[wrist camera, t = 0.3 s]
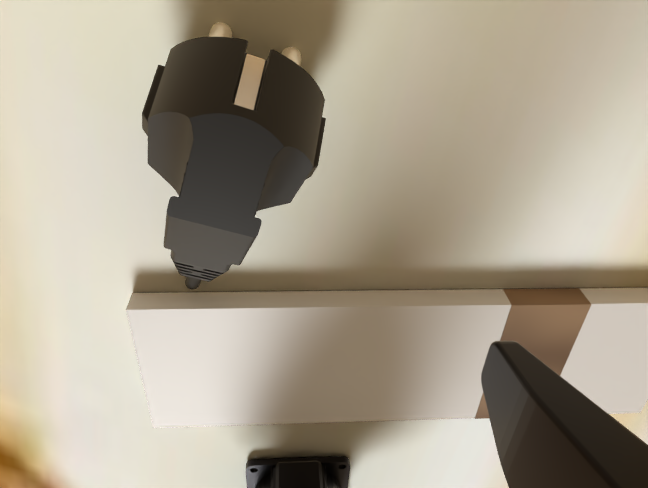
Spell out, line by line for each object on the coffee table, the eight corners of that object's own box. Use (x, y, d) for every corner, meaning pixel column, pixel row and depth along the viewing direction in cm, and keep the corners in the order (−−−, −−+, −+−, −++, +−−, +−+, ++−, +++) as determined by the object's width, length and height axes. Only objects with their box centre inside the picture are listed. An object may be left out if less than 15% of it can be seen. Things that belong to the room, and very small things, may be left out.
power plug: (125, 285, 23) (106, 160, 12) (168, 143, 26) (184, -60, 15) (247, 312, 24) (328, 220, 14) (275, 174, 27) (361, 8, 16)
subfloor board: (628, 396, 31) (640, 413, 30) (157, 409, 29) (152, 428, 28) (690, 287, 26) (707, 302, 25) (132, 292, 24) (125, 310, 23)
